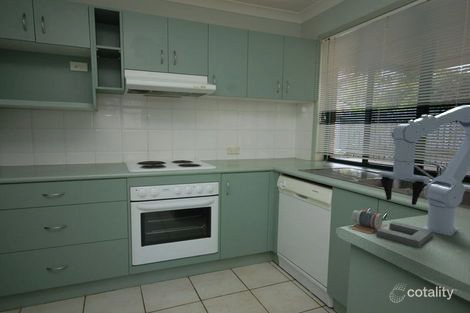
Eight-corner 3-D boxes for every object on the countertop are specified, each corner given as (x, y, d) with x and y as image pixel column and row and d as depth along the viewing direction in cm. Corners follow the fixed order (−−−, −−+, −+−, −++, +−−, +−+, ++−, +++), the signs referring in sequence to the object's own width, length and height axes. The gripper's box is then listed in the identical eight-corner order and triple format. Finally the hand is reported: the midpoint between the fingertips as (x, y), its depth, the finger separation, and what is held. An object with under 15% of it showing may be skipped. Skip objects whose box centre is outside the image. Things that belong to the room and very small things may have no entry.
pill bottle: (378, 212, 95) (352, 206, 102) (375, 227, 94) (349, 221, 101) (384, 216, 98) (358, 210, 105) (380, 231, 97) (355, 224, 104)
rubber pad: (367, 219, 107) (367, 219, 107) (387, 224, 102) (387, 224, 102) (348, 228, 98) (348, 227, 98) (369, 234, 92) (369, 233, 92)
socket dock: (392, 226, 100) (393, 221, 100) (432, 236, 91) (432, 230, 91) (376, 235, 91) (376, 230, 91) (418, 247, 82) (419, 241, 82)
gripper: (375, 159, 96) (373, 199, 98) (425, 164, 85) (422, 208, 87) (384, 158, 101) (382, 196, 102) (432, 162, 90) (429, 204, 91)
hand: (401, 201), depth 95 cm, fingers open, 7 cm apart
